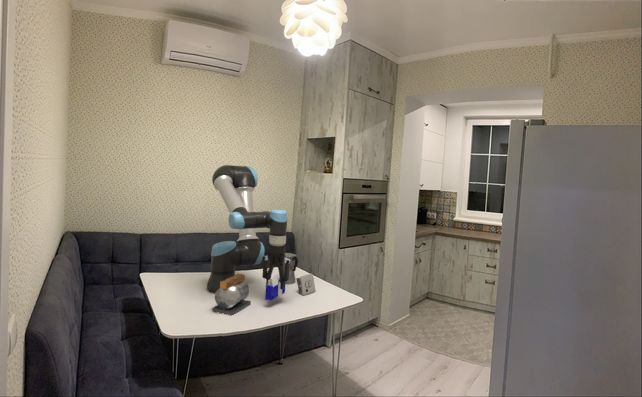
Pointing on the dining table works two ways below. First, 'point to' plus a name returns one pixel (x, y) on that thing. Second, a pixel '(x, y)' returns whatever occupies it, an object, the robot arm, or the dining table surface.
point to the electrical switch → (306, 284)
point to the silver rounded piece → (232, 295)
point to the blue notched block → (273, 291)
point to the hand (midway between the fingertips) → (274, 294)
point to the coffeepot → (291, 266)
